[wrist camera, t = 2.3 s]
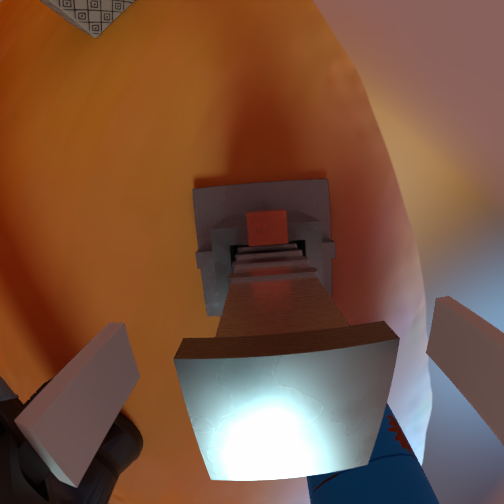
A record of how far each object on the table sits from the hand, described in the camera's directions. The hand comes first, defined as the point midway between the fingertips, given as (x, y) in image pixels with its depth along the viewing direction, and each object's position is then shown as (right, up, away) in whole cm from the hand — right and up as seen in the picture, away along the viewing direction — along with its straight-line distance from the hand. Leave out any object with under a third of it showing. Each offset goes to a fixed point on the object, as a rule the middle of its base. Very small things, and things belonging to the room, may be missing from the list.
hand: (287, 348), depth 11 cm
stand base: (0, +4, +20) cm, 21 cm away
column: (0, +4, +18) cm, 19 cm away
